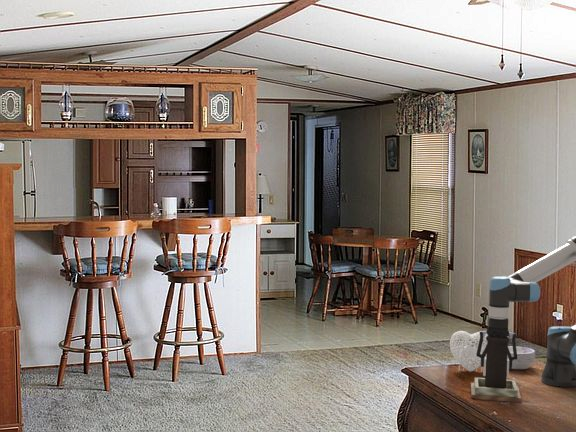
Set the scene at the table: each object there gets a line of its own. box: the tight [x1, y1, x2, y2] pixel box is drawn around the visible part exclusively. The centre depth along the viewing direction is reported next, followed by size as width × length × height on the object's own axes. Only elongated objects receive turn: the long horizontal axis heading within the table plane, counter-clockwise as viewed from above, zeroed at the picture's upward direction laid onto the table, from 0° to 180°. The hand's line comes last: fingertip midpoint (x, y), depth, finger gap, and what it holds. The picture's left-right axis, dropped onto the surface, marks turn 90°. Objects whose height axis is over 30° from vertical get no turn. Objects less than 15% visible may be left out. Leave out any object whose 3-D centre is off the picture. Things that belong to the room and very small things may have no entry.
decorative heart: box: [449, 330, 488, 373], centre depth 364 cm, size 18×11×17 cm, turn 81°
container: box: [484, 336, 510, 389], centre depth 328 cm, size 9×9×20 cm
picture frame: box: [470, 377, 522, 403], centre depth 329 cm, size 18×18×4 cm
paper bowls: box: [507, 345, 536, 370], centre depth 374 cm, size 15×15×8 cm
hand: (495, 375), depth 329 cm, fingers closed on container, 8 cm apart
